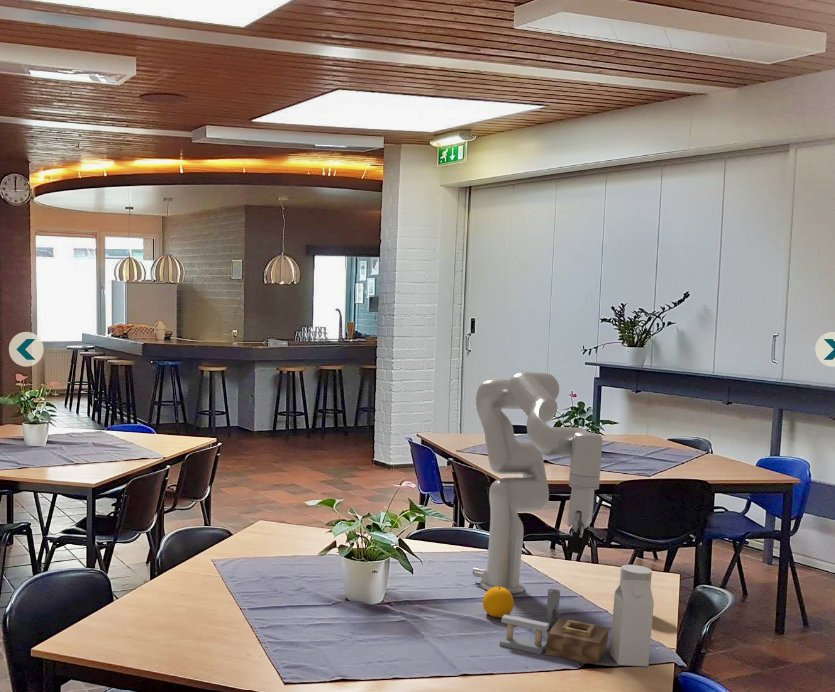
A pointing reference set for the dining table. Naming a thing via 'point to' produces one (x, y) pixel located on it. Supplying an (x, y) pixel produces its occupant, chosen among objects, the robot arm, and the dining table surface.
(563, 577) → the dining table surface
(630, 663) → the milk carton
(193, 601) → the dining table surface
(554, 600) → the pin
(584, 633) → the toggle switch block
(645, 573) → the light grey cylinder
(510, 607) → the orange fruit
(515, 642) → the peg rack
